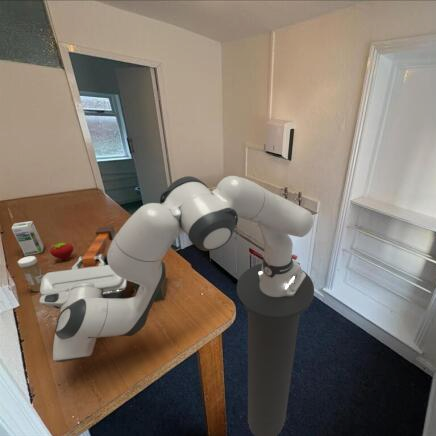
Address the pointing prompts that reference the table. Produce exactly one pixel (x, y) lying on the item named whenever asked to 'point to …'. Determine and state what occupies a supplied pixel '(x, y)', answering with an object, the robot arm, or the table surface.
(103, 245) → the orange bar brown end
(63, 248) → the strawberry
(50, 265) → the table surface
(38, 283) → the sprinkles bottle
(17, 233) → the syrup box
